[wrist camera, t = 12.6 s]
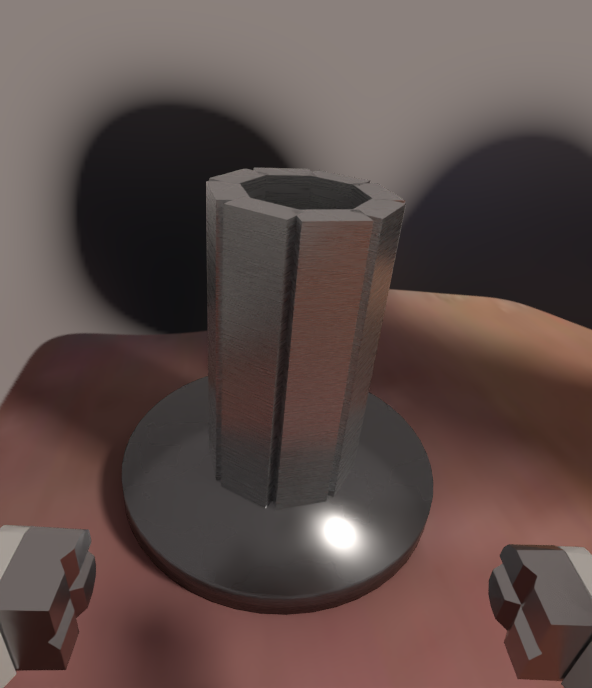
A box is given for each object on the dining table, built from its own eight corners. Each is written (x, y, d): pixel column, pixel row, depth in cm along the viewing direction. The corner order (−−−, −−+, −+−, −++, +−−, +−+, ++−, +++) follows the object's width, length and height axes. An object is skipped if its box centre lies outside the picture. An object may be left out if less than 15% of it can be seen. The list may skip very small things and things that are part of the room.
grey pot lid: (292, 358, 32) (299, 284, 30) (486, 492, 24) (521, 406, 21) (73, 448, 24) (54, 357, 21) (249, 705, 15) (256, 607, 13)
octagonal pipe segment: (323, 402, 27) (356, 170, 20) (372, 493, 22) (436, 220, 15) (202, 416, 25) (198, 166, 19) (223, 519, 20) (227, 221, 14)
